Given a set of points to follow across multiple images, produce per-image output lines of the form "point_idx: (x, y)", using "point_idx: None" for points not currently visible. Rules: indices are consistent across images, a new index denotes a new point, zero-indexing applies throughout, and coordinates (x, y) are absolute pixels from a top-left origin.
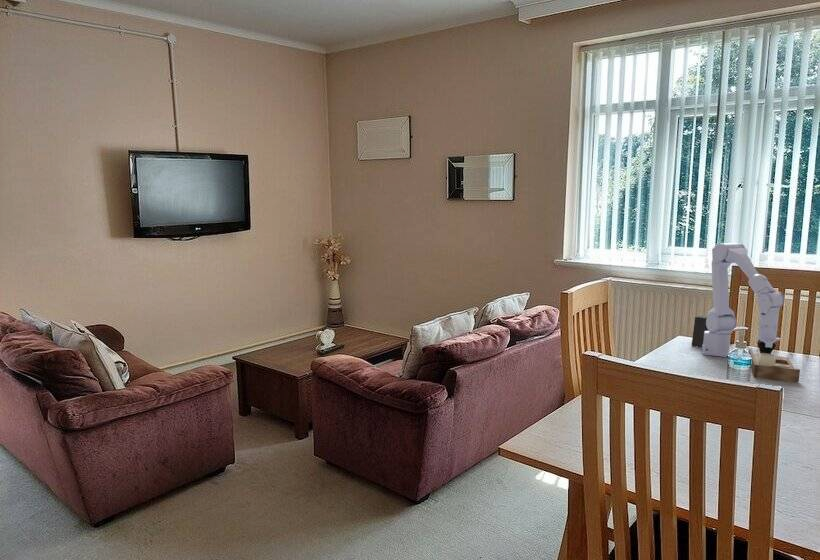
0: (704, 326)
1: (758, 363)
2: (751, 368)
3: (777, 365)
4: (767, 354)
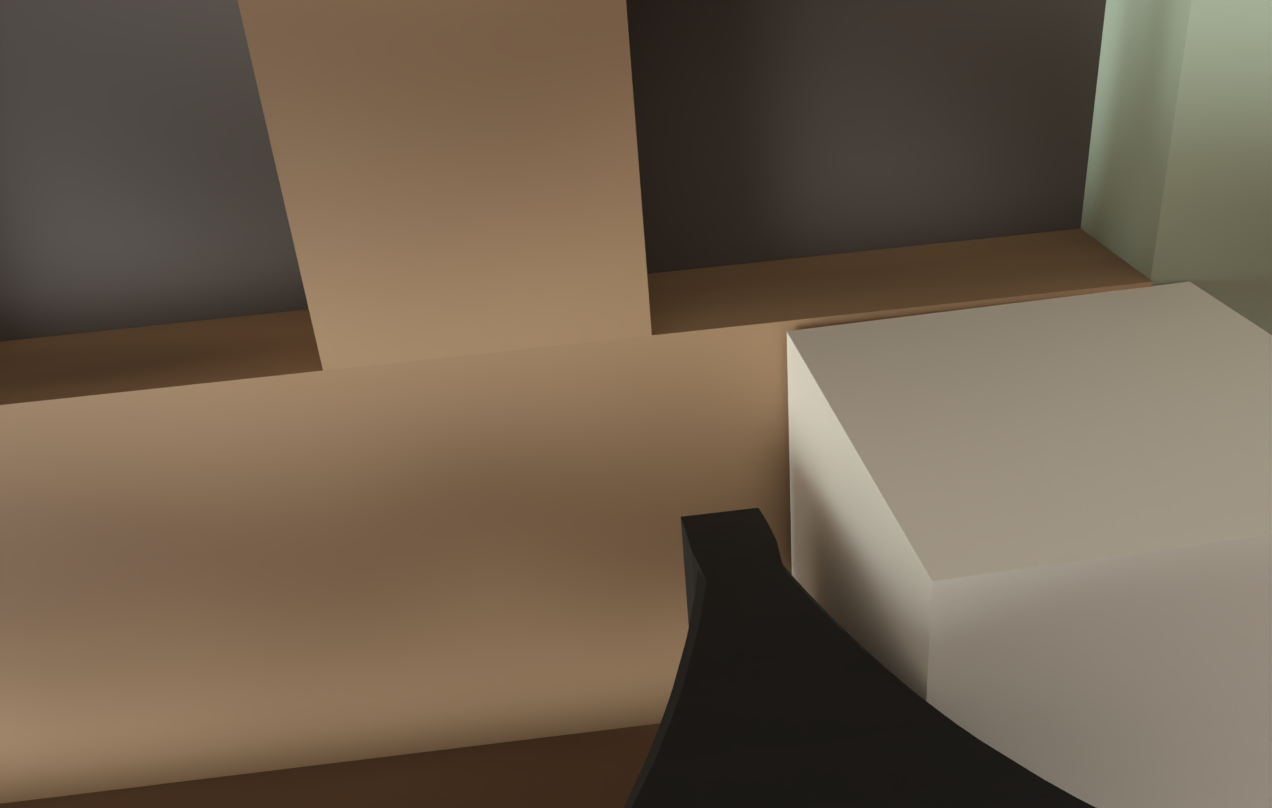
0: None
1: None
2: None
3: (570, 198)
4: (1084, 774)
